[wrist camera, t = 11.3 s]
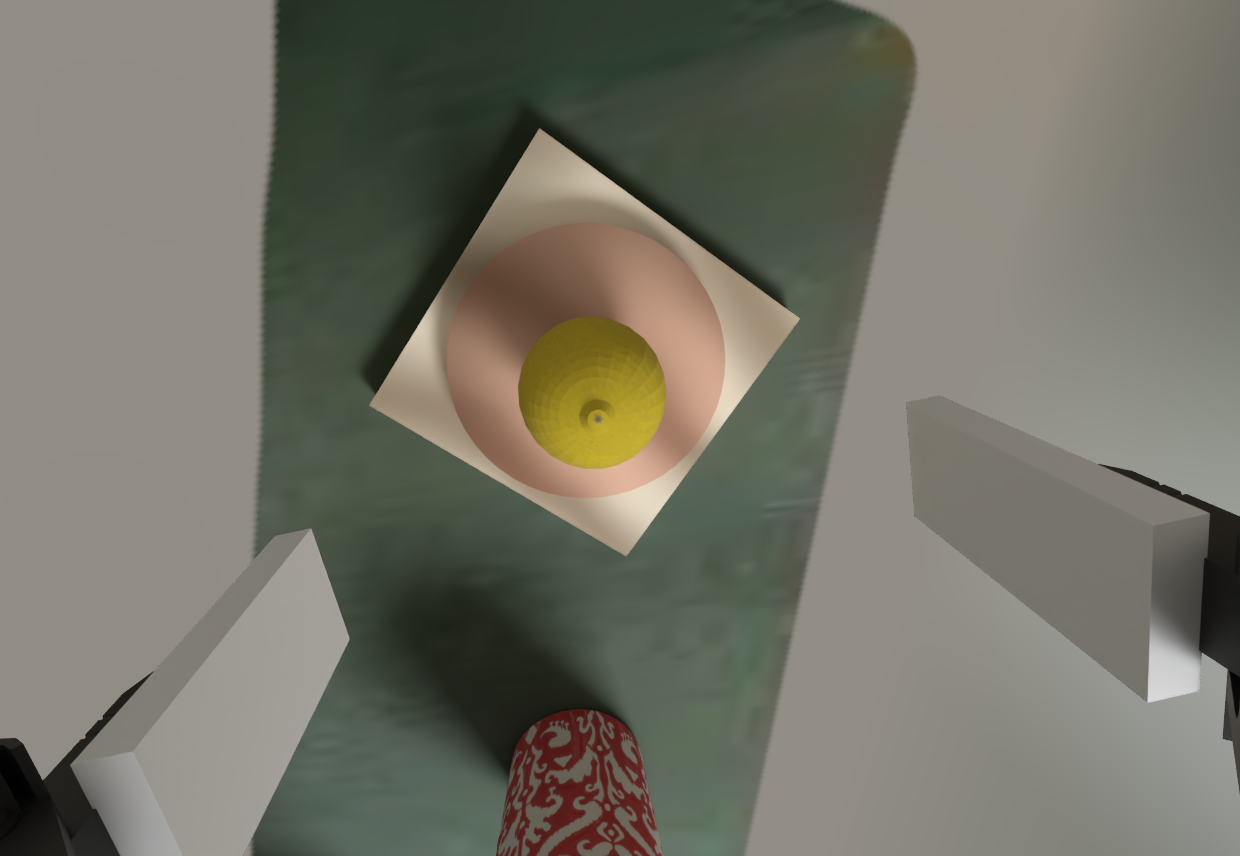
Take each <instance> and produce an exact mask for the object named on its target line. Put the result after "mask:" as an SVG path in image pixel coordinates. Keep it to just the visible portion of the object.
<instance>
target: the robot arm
mask: <svg viewBox="0 0 1240 856" xmlns="http://www.w3.org/2000/svg"><path fill="white" fill-rule="evenodd" d="M906 409H907V423H908V436H909V449H910V462H911V477H912V489H913V502H914V516H915V517H916V518H918V519H919V520H920V521H921V522H922V523H924V524H925V525H926V526H927V527H929V528H930V529H931V530H932V531H934V532H935V533H936V534H937V535H939V536H940V537H941V538H942V539H944V540H945V541H946V542H948V543H949V544H950V545H951V546H952V547H954V548H955V549H956V550H957V551H959V552H960V553H961V554H962V555H964V556H965V557H966V558H967V559H969V560H970V561H971V562H972V563H974V564H975V565H976V566H977V567H979V568H980V569H981V570H982V571H984V572H985V573H986V574H988V575H989V576H990V577H991V578H992V579H994V580H995V581H996V582H997V583H999V584H1000V585H1001V586H1002V587H1004V588H1005V589H1006V590H1008V591H1009V592H1010V593H1011V594H1013V595H1014V596H1015V597H1016V598H1017V599H1019V600H1020V601H1021V602H1022V603H1024V604H1025V605H1026V606H1027V607H1029V608H1030V609H1031V610H1032V611H1034V612H1035V613H1036V614H1037V615H1039V616H1040V617H1041V618H1042V619H1044V620H1045V621H1046V622H1047V623H1049V624H1050V625H1051V626H1052V627H1054V628H1055V629H1056V630H1057V631H1059V632H1060V633H1061V634H1062V635H1064V636H1065V637H1066V638H1067V639H1069V640H1070V641H1071V642H1072V643H1074V644H1075V645H1076V646H1077V647H1079V648H1080V649H1081V650H1082V651H1084V652H1085V653H1086V654H1087V655H1088V656H1090V657H1091V658H1092V659H1093V660H1095V661H1096V662H1097V663H1098V664H1100V665H1101V666H1102V667H1103V668H1105V669H1106V670H1107V671H1108V672H1110V673H1111V674H1112V675H1113V676H1115V677H1116V678H1117V679H1118V680H1120V681H1121V682H1122V683H1123V684H1125V685H1126V686H1127V687H1128V688H1130V689H1131V690H1132V691H1133V692H1135V693H1136V694H1137V695H1138V696H1140V697H1141V698H1142V699H1143V700H1145V701H1146V702H1153V701H1157V700H1161V699H1166V698H1170V697H1174V696H1179V695H1183V694H1188V693H1192V692H1197V691H1199V690H1200V672H1201V656H1202V653H1204V654H1205V655H1207V656H1208V657H1210V658H1212V659H1213V660H1215V661H1216V662H1218V663H1219V664H1221V665H1222V666H1224V667H1225V668H1227V669H1228V672H1227V687H1226V701H1225V714H1224V728H1223V739H1226V740H1230V741H1233V748H1234V755H1235V762H1236V769H1237V777H1238V784H1239V791H1240V516H1237V515H1235V514H1233V513H1230V512H1228V511H1226V510H1223V509H1221V508H1218V507H1216V506H1214V505H1211V504H1209V503H1207V502H1204V501H1202V500H1200V499H1197V498H1195V497H1192V496H1190V495H1188V494H1184V495H1182V494H1181V492H1180V491H1178V490H1176V489H1173V488H1171V487H1168V486H1166V485H1160V484H1159V482H1157V481H1155V480H1152V479H1150V478H1147V477H1145V476H1143V475H1140V474H1138V473H1136V472H1133V471H1129V470H1124V469H1120V468H1115V467H1110V466H1106V465H1101V464H1096V463H1093V462H1091V461H1089V460H1087V459H1084V458H1082V457H1080V456H1077V455H1075V454H1073V453H1071V452H1068V451H1066V450H1064V449H1062V448H1059V447H1057V446H1055V445H1052V444H1050V443H1048V442H1045V441H1043V440H1041V439H1039V438H1036V437H1034V436H1032V435H1029V434H1027V433H1025V432H1023V431H1020V430H1018V429H1015V428H1013V427H1011V426H1009V425H1006V424H1004V423H1002V422H1000V421H997V420H995V419H993V418H991V417H988V416H986V415H984V414H981V413H979V412H977V411H975V410H972V409H970V408H968V407H965V406H963V405H961V404H958V403H956V402H954V401H952V400H949V399H947V398H945V397H942V396H940V395H939V396H934V397H929V398H924V399H920V400H915V401H911V402H906ZM349 640H350V639H349V636H348V633H347V630H346V627H345V624H344V621H343V618H342V616H341V613H340V610H339V607H338V604H337V601H336V598H335V596H334V593H333V590H332V587H331V584H330V581H329V578H328V575H327V573H326V570H325V567H324V564H323V561H322V558H321V555H320V553H319V550H318V547H317V544H316V541H315V538H314V535H313V532H312V530H311V529H306V530H302V531H297V532H292V533H288V534H283V535H278V536H275V537H274V538H273V539H272V540H271V541H270V543H269V544H268V545H267V546H266V547H265V548H264V549H263V550H262V551H261V553H260V554H259V555H258V556H257V557H256V558H255V559H254V560H253V562H252V563H251V564H250V565H249V566H248V567H247V568H246V569H245V570H244V572H243V573H242V574H241V575H240V576H239V577H238V578H237V579H236V581H235V582H234V583H233V584H232V585H231V586H230V587H229V588H228V590H227V591H226V592H225V593H224V594H223V595H222V596H221V598H219V600H218V601H217V602H216V603H215V604H214V605H213V606H212V607H211V609H210V610H209V611H208V612H207V613H206V614H205V615H204V616H203V617H202V619H201V620H200V621H199V622H198V623H197V624H196V625H195V626H194V628H193V629H192V630H191V631H190V632H189V633H188V634H187V635H186V636H185V637H184V639H183V640H182V641H181V642H180V643H179V644H178V645H177V646H176V648H175V649H174V650H173V651H172V652H171V653H170V654H169V655H168V657H167V658H166V659H165V660H164V661H163V662H162V663H161V664H160V665H159V667H158V668H157V669H156V670H155V671H153V672H152V673H150V674H149V675H148V676H146V677H145V678H144V679H142V680H141V681H139V682H138V683H137V684H135V685H134V686H133V687H131V688H130V689H129V690H127V691H126V692H125V693H123V694H122V695H121V696H120V697H119V699H118V700H117V701H116V702H115V703H114V704H113V705H112V706H111V707H110V708H109V709H108V711H107V712H106V713H105V714H104V715H103V720H98V721H97V723H96V724H95V725H94V726H93V727H92V728H91V729H90V730H89V731H88V732H87V734H86V738H85V739H81V740H80V741H79V742H78V743H77V744H76V745H75V746H74V748H73V749H72V750H71V751H70V752H69V753H68V754H67V755H66V756H65V757H64V758H63V759H62V761H61V762H60V763H59V764H58V765H57V766H56V767H55V768H54V769H53V771H52V772H51V773H50V774H49V775H48V776H47V777H46V778H45V779H44V780H42V779H41V777H40V775H39V773H38V771H37V769H36V767H35V765H34V763H33V762H32V760H31V758H30V756H29V754H28V752H27V750H26V748H25V747H24V745H23V743H22V742H20V741H19V740H18V739H16V738H8V739H7V738H6V739H0V856H243V855H244V853H245V851H246V849H247V847H248V845H249V843H250V841H251V839H252V837H253V835H254V833H255V831H256V829H257V827H258V825H259V822H260V820H261V818H262V816H263V814H264V812H265V810H266V808H267V806H268V804H269V802H270V800H271V798H272V796H273V794H274V792H275V790H276V788H277V786H278V784H279V782H280V780H281V778H282V776H283V774H284V772H285V770H286V768H287V766H288V764H289V761H290V759H291V757H292V755H293V753H294V751H295V749H296V747H297V745H298V743H299V741H300V739H301V737H302V735H303V733H304V731H305V729H306V727H307V725H308V723H309V721H310V719H311V717H312V715H313V713H314V711H315V709H316V707H317V705H318V703H319V701H320V698H321V696H322V694H323V692H324V690H325V688H326V686H327V684H328V682H329V680H330V678H331V676H332V674H333V672H334V670H335V668H336V666H337V664H338V662H339V660H340V658H341V656H342V654H343V652H344V650H345V648H346V646H347V644H348V642H349Z"/></svg>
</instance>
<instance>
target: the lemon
mask: <svg viewBox="0 0 1240 856" xmlns="http://www.w3.org/2000/svg"><path fill="white" fill-rule="evenodd" d="M518 397H519V407H520V411H521V413H522V416H523V419H524V422H525V425H526V427H527V429H528V430H529V432H530V433H531V435H532V436H533V438H534V439H535V441H536V442H537V443H538V444H539V445H540V446H541V447H542V448H543V449H544V450H545V451H546V452H547V453H549V454H550V455H551V456H552V457H554V458H556V459H558V460H560V461H562V462H564V463H566V464H568V465H571V466H575V467H579V468H583V469H603V468H607V467H611V466H616V465H619V464H621V463H623V462H625V461H627V460H629V459H631V458H633V457H634V456H635V455H636V454H637V453H639V452H640V451H641V450H642V449H643V448H645V447H646V446H647V444H648V443H649V441H650V440H651V439H652V437H653V436H654V434H655V433H656V432H657V429H658V427H659V424H660V422H661V419H662V417H663V414H664V409H665V401H666V386H665V379H664V372H663V370H662V368H661V365H660V363H659V360H658V358H657V355H656V354H655V352H654V351H653V350H652V348H651V347H650V346H649V344H648V343H647V342H646V340H645V339H644V338H643V337H642V336H640V335H639V334H638V333H636V332H635V331H634V330H633V329H631V328H630V327H628V326H626V325H624V324H621V323H619V322H617V321H614V320H612V319H607V318H601V317H595V316H591V317H581V318H574V319H571V320H569V321H566V322H563V323H560V324H558V325H556V326H555V327H553V328H552V329H551V330H549V331H548V332H546V333H545V334H543V335H542V336H541V337H540V339H539V340H538V341H537V342H536V343H535V344H534V346H533V347H532V348H531V349H530V351H529V353H528V355H527V357H526V359H525V361H524V363H523V365H522V368H521V373H520V378H519V383H518Z"/></svg>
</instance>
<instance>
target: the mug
mask: <svg viewBox="0 0 1240 856" xmlns="http://www.w3.org/2000/svg"><path fill="white" fill-rule="evenodd" d="M496 856H663V852H662V848H661V843H660V839H659V834H658V829H657V825H656V820H655V815H654V810H653V806H652V802H651V797H650V793H649V789H648V784H647V780H646V775H645V770H644V765H643V760H642V756H641V752H640V749H639V746H638V743H637V741H636V739H635V737H634V736H633V734H632V733H631V732H630V730H629V729H628V728H627V727H626V726H625V725H624V724H623V723H621V722H620V721H619V720H617V719H615V718H614V717H612V716H610V715H608V714H605V713H602V712H599V711H594V710H588V709H573V710H566V711H561V712H557V713H554V714H552V715H549V716H547V717H545V718H543V719H541V720H540V721H538V722H537V723H535V724H534V725H532V726H531V727H530V728H529V729H528V730H527V731H526V732H525V733H524V735H523V736H522V737H521V739H520V740H519V742H518V744H517V746H516V748H515V751H514V753H513V757H512V762H511V768H510V774H509V780H508V788H507V795H506V800H505V806H504V812H503V818H502V824H501V830H500V836H499V839H498V845H497V853H496Z"/></svg>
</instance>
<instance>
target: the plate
mask: <svg viewBox="0 0 1240 856" xmlns="http://www.w3.org/2000/svg"><path fill="white" fill-rule="evenodd" d="M591 316H595V317H601V318H607V319H612V320H614V321H617V322H619V323H621V324H624V325H626V326H628V327H630V328H631V329H633V330H634V331H635V332H636V333H638V334H639V335H640V336H642V337H643V338H644V339H645V340H646V342H647V343H648V344H649V346H650V347H651V348H652V350H653V351H654V352H655V354H656V355H657V358H658V360H659V363H660V365H661V368H662V370H663V372H664V379H665V386H666V401H665V409H664V414H663V417H662V419H661V422H660V424H659V427H658V429H657V432H656V433H655V434H654V436H653V437H652V439H651V440H650V441H649V443H648V444H647V446H646V447H645V448H643V449H642V450H641V451H640V452H639V453H637V454H636V455H635V456H634V457H633V458H631V459H629V460H627V461H625V462H623V463H621V464H619V465H616V466H611V467H607V468H603V469H583V468H579V467H575V466H571V465H568V464H566V463H564V462H562V461H560V460H558V459H556V458H554V457H552V456H551V455H550V454H549V453H547V452H546V451H545V450H544V449H543V448H542V447H541V446H540V445H539V444H538V443H537V442H536V441H535V439H534V438H533V436H532V435H531V433H530V432H529V430H528V429H527V427H526V425H525V422H524V419H523V416H522V413H521V411H520V407H519V397H518V383H519V378H520V373H521V368H522V365H523V363H524V361H525V359H526V357H527V355H528V353H529V351H530V349H531V348H532V347H533V346H534V344H535V343H536V342H537V341H538V340H539V339H540V337H541V336H542V335H543V334H545V333H546V332H548V331H549V330H551V329H552V328H553V327H555V326H556V325H558V324H560V323H563V322H566V321H569V320H571V319H574V318H581V317H591ZM799 319H800V318H798V317H797V316H795V315H794V314H793V313H791V312H790V311H789V310H787V309H786V308H784V307H783V306H782V305H780V304H779V303H778V302H776V301H775V300H774V299H772V298H771V297H769V296H768V295H767V294H765V293H764V292H763V291H761V290H760V289H758V288H757V287H756V286H754V285H753V284H752V283H750V282H749V281H748V280H746V279H745V278H743V277H742V276H741V275H739V274H738V273H737V272H735V271H734V270H733V269H731V268H730V267H728V266H727V265H726V264H724V263H723V262H722V261H720V260H719V259H717V258H716V257H715V256H713V255H712V254H711V253H709V252H708V251H707V250H705V249H704V248H702V247H701V246H700V245H698V244H697V243H696V242H694V241H693V240H691V239H690V238H689V237H687V236H686V235H685V234H683V233H682V232H681V231H679V230H678V229H676V228H675V227H674V226H672V225H671V224H670V223H668V222H667V221H666V220H664V219H663V218H661V217H660V216H659V215H657V214H656V213H655V212H653V211H652V210H650V209H649V208H648V207H646V206H645V205H644V204H642V203H641V202H640V201H638V200H637V199H635V198H634V197H633V196H631V195H630V194H629V193H627V192H626V191H625V190H623V189H622V188H620V187H619V186H618V185H616V184H615V183H614V182H612V181H611V180H609V179H608V178H607V177H605V176H604V175H603V174H601V173H600V172H599V171H597V170H596V169H594V168H593V167H592V166H590V165H589V164H588V163H586V162H585V161H583V160H582V159H581V158H579V157H578V156H577V155H575V154H574V153H573V152H571V151H570V150H568V149H567V148H566V147H564V146H563V145H562V144H560V143H559V142H558V141H556V140H555V139H553V138H552V137H551V136H549V135H548V134H547V133H545V132H544V131H542V130H541V129H540V128H539V130H538V132H537V133H536V135H535V136H534V138H533V140H532V141H531V143H530V145H529V146H528V148H527V149H526V151H525V153H524V154H523V156H522V158H521V159H520V161H519V162H518V164H517V166H516V167H515V169H514V171H513V172H512V174H511V175H510V177H509V179H508V180H507V182H506V184H505V185H504V187H503V189H502V190H501V192H500V193H499V195H498V197H497V198H496V200H495V202H494V203H493V205H492V206H491V208H490V210H489V211H488V213H487V215H486V216H485V218H484V219H483V221H482V223H481V224H480V226H479V228H478V229H477V231H476V232H475V234H474V236H473V237H472V239H471V241H470V242H469V244H468V245H467V247H466V249H465V250H464V252H463V254H462V255H461V257H460V259H459V260H458V262H457V263H456V265H455V267H454V268H453V270H452V272H451V273H450V275H449V276H448V278H447V280H446V281H445V283H444V285H443V286H442V288H441V289H440V291H439V293H438V294H437V296H436V298H435V299H434V301H433V302H432V304H431V306H430V307H429V309H428V311H427V312H426V314H425V315H424V317H423V319H422V320H421V322H420V324H419V325H418V327H417V329H416V330H415V332H414V333H413V335H412V337H411V338H410V340H409V342H408V343H407V345H406V346H405V348H404V350H403V351H402V353H401V355H400V356H399V358H398V359H397V361H396V363H395V364H394V366H393V368H392V369H391V371H390V372H389V374H388V376H387V377H386V379H385V381H384V382H383V384H382V385H381V387H380V389H379V390H378V392H377V394H376V395H375V397H374V399H373V400H372V402H371V403H370V406H371V407H373V408H375V409H376V410H378V411H380V412H382V413H383V414H385V415H387V416H388V417H390V418H392V419H393V420H395V421H397V422H399V423H400V424H402V425H404V426H405V427H407V428H409V429H410V430H412V431H414V432H416V433H417V434H419V435H421V436H422V437H424V438H426V439H428V440H429V441H431V442H433V443H434V444H436V445H438V446H439V447H441V448H443V449H445V450H446V451H448V452H450V453H451V454H453V455H455V456H456V457H458V458H460V459H462V460H463V461H465V462H467V463H468V464H470V465H472V466H473V467H475V468H477V469H479V470H480V471H482V472H484V473H485V474H487V475H489V476H490V477H492V478H494V479H496V480H497V481H499V482H501V483H502V484H504V485H506V486H508V487H509V488H511V489H513V490H514V491H516V492H518V493H519V494H521V495H523V496H525V497H526V498H528V499H530V500H531V501H533V502H535V503H536V504H538V505H540V506H542V507H543V508H545V509H547V510H548V511H550V512H552V513H553V514H555V515H557V516H559V517H560V518H562V519H564V520H565V521H567V522H569V523H571V524H572V525H574V526H576V527H577V528H579V529H581V530H582V531H584V532H586V533H588V534H589V535H591V536H593V537H594V538H596V539H598V540H599V541H601V542H603V543H605V544H606V545H608V546H610V547H611V548H613V549H615V550H616V551H618V552H620V553H622V554H623V555H625V556H627V555H628V553H629V552H630V550H631V549H632V548H633V546H634V545H635V544H636V542H637V541H638V540H639V538H640V537H641V535H642V534H643V533H644V531H645V530H646V529H647V527H648V526H649V524H650V523H651V522H652V520H653V519H654V518H655V516H656V515H657V514H658V512H659V511H660V509H661V508H662V507H663V505H664V504H665V503H666V501H667V500H668V499H669V497H670V496H671V494H672V493H673V492H674V490H675V489H676V488H677V486H678V485H679V483H680V482H681V481H682V479H683V478H684V477H685V475H686V474H687V473H688V471H689V470H690V468H691V467H692V466H693V464H694V463H695V462H696V460H697V459H698V457H699V456H700V455H701V453H702V452H703V451H704V449H705V448H706V447H707V445H708V444H709V442H710V441H711V440H712V438H713V437H714V436H715V434H716V433H717V431H718V430H719V429H720V427H721V426H722V425H723V423H724V422H725V421H726V419H727V418H728V416H729V415H730V414H731V412H732V411H733V410H734V408H735V407H736V406H737V404H738V403H739V401H740V400H741V399H742V397H743V396H744V395H745V393H746V392H747V390H748V389H749V388H750V386H751V385H752V384H753V382H754V381H755V380H756V378H757V377H758V375H759V374H760V373H761V371H762V370H763V369H764V367H765V366H766V364H767V363H768V362H769V360H770V359H771V358H772V356H773V355H774V354H775V352H776V351H777V349H778V348H779V347H780V345H781V344H782V343H783V341H784V340H785V338H786V337H787V336H788V334H789V333H790V332H791V330H792V329H793V328H794V326H795V325H796V323H797V322H798V321H799Z"/></svg>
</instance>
